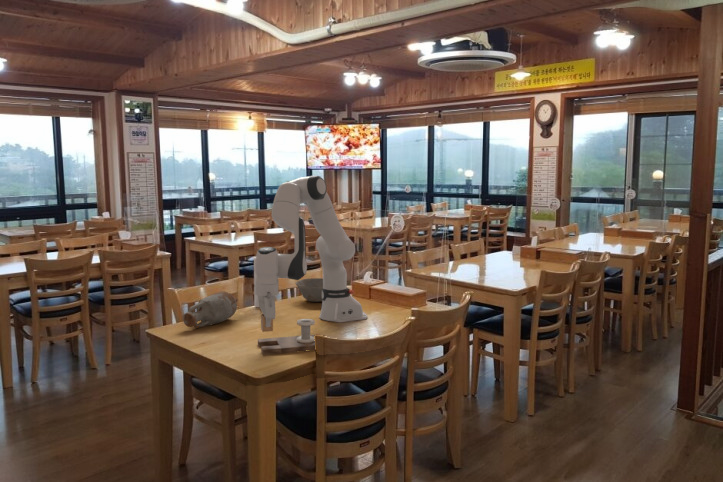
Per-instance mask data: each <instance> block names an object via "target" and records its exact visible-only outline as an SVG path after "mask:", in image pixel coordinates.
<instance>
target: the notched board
mask: <svg viewBox="0 0 723 482" xmlns="http://www.w3.org/2000/svg"><path fill="white" fill-rule="evenodd" d="M315 335H316V334H310V336H313V337H314V336H315ZM299 336H300V335H292V336H281V337H279V336H278V337H268V338H266V337H265V338H258V339H257V345H258V348H260V350H261V351H260V352H261V354H262V355H263V356H265V355H279V354H290V353H289V352H292V353H298V352H297V351H304V352H307V351H306V350H315V341H314V342H312V343H299V342H297V337H299Z"/></svg>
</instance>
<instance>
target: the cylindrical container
mask: <svg viewBox="0 0 723 482" xmlns="http://www.w3.org/2000/svg"><path fill="white" fill-rule="evenodd" d="M255 263H256V256H254V257H253V295H254V296H253V297H254V298H253V299H254V300H253V302H254V305H253V306H256V307H259V303H258V296H257V295H256V294H255V281H256V272H255ZM256 307H255V308H256Z"/></svg>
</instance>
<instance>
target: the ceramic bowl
mask: <svg viewBox="0 0 723 482" xmlns="http://www.w3.org/2000/svg"><path fill="white" fill-rule="evenodd" d="M295 285H296V286H297V288H298V289H299V291H300V293H301V295H302V297H303V298H304V299H305V300H307V301H308V302H315V303H319V302H320V303H321V302H322V288H323V278H318V277H315V278H314V277H313V278H303V279H299V280H296V282H295Z"/></svg>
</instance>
